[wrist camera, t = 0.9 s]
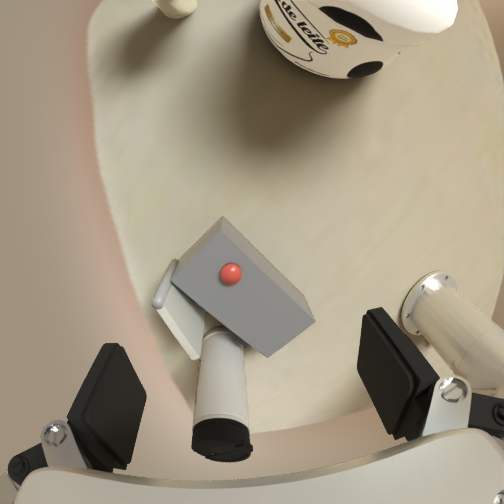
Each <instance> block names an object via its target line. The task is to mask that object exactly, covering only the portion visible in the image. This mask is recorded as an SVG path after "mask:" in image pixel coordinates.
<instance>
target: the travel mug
mask: <svg viewBox="0 0 504 504" xmlns="http://www.w3.org/2000/svg"><path fill="white" fill-rule="evenodd" d="M192 430H193V436H192V449H193V451H194V452H197V453H198V454H200V455H202V456H205V458H207V459H210V460H213V461H218V462H239V461H242V460H245V459H247V458H249V456H250V455H251V452H252V451H253V446H252V445H251V444H250V438H249V433H250V430H249V417H248V403H247V390H246V376H245V361H244V347H243V345H242V344H240V343H239V342H238V341H237V340H236V338H235V337H234V335H233V334H232V332H231V330H230V329H228V328H227V327H217V328H214V329H211V330H209V331H208V332H207V333H206V334H205V335H204V337H203V339H202V347H201V355H200V363H199V371H198V380H197V389H196V398H195V408H194V418H193V428H192Z"/></svg>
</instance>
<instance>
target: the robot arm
mask: <svg viewBox="0 0 504 504" xmlns="http://www.w3.org/2000/svg"><path fill="white" fill-rule="evenodd" d="M401 319H402V324H403V326H404V328H405V329H406V330H407V331H408V332H409V333H410V334H413V335H423V336H424V337H425V339H426V340H427V341H428V342H429V343H430V344H431V346H432V347H433V348H434V349H435V350H436V352H437V353H438V354H439V355H440V356H441V358H442V359H443V360H444V361H445V362H446V364H447V365H448V366H449V367H450V369H451V370H452V371H453V372H454V374H455V375H446V376H444V377H442V378H440V377H439V376H438V374H437V373H436V372H435V370H434V369H433V368H432V366H431V365H430V364H429V363H428V361H427V360H426V359H425V357H424V356H423V355H422V353H421V352H420V351H419V350H418V348H417V347H416V346H415V344H414V343H413V342H412V341H411V339H410V338H409V337H408V336H407V335H404V333H403V332H402V331H401V330H400V328H399V327H398V326H397V325H396V323H395V322H394V321H393V320H392V319H391V317H390V316H389V315H388V314H387V312H386V311H385V310H384V309H383V308H382V307H379V308H375V309H371V310H368V311H367V313H366V314H365V315H363V318H362V328H361V337H360V346H359V354H358V361H357V370H358V373H359V375H360V377H361V379H362V381H363V383H364V385H365V387H366V389H367V391H368V393H369V395H370V397H371V399H372V402H373V404H374V406H375V408H376V410H377V412H378V414H379V416H380V418H381V420H382V422H383V425H384V427H385V429H386V431H387V433H388V434H389V435H390V434H392V435H393V437H394V439H395V440H397V439H399V438H402V437H404V436H405V438H406V440H407V441H408V442H406V443H403V444H400V445H397V446H394V447H392V448H389V449H386V450H383V451H380V452H377V453H374V454H371V455H367V456H364V457H360V458H357V459H354V460H350V461H346V462H343V463H339V464H335V465H331V466H326V467H322V468H317V469H313V470H308V471H302V472H297V473H291V474H284V475H277V476H269V477H261V478H250V479H237V480H212V481H195V480H194V481H192V480H168V479H156V478H145V477H136V476H129V475H122V474H115V473H113V468H116V469H123V470H126V467H127V464H129V463H130V462H131V459H132V455H133V450H134V446H135V442H136V438H137V433H138V429H139V426H140V422H141V418H142V414H143V410H144V406H145V403H146V397H147V396H146V392H145V390H144V388H143V386H142V384H141V382H140V380H139V378H138V376H137V374H136V372H135V370H134V368H133V366H132V364H131V362H130V360H129V358H128V356H127V354H126V352H125V350H124V348H123V347H122V346H120V345H119V344H118V343H105V344H104V345H103V346H102V348H101V350H100V351H99V353H98V355H97V357H96V359H95V361H94V363H93V364H92V366H91V368H90V370H89V372H88V374H87V376H86V378H85V380H84V382H83V384H82V386H81V388H80V390H79V392H78V394H77V396H76V398H75V400H74V402H73V404H72V407H71V409H70V411H69V413H68V415H67V418H68V421H67V423H66V422H65V421H61V420H55V421H52V422H50V423H49V424H47V425H46V426H45V427H44V429H43V430H42V432H41V443H39V444H38V445H36V446H34V447H32V448H30V449H28V450H26V451H24V452H22V453H20V454H18V455H16V456H14V457H13V458H12V459H11V460H10V462H9V465H8V474H7V473H6V472H4V473H3V474H2V475H1V476H0V504H504V331H503V330H502V329H501V328H500V327H499V326H498V325H496V324H495V323H494V322H493V321H492V320H491V319H490V318H489V317H487V316H486V315H485V314H484V313H483V312H482V311H480V310H479V309H478V308H477V307H476V306H475V305H473V304H472V303H471V302H470V301H468V300H467V299H466V298H465V297H464V296H462V295H461V294H460V293H459V292H457V285H456V281H455V279H454V278H453V277H452V276H451V275H450V274H448V273H447V272H444V271H436V272H432V273H430V274H428V275H426V276H425V277H423V278H422V279H421V280H420V281H419V282H418V283H417V284H416V285H415V286H414V287H413V288H412V290H411V291H410V293H409V294H408V296H407V298H406V300H405V302H404V305H403V308H402V315H401ZM472 390H492V394H491V396H487V395H482V394H477V393H472Z"/></svg>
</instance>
